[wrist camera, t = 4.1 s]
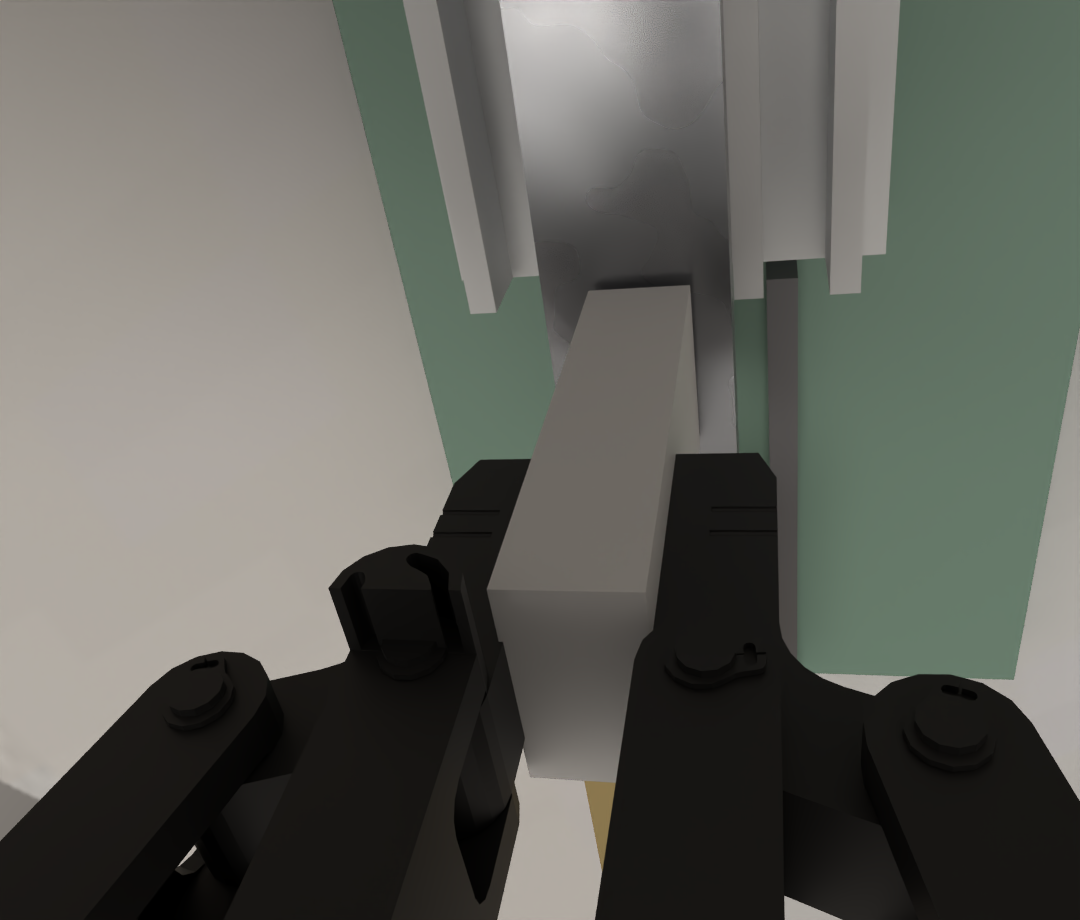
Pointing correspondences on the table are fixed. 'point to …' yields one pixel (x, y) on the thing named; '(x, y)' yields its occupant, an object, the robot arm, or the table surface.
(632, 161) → the strap
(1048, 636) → the table surface
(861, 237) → the board
